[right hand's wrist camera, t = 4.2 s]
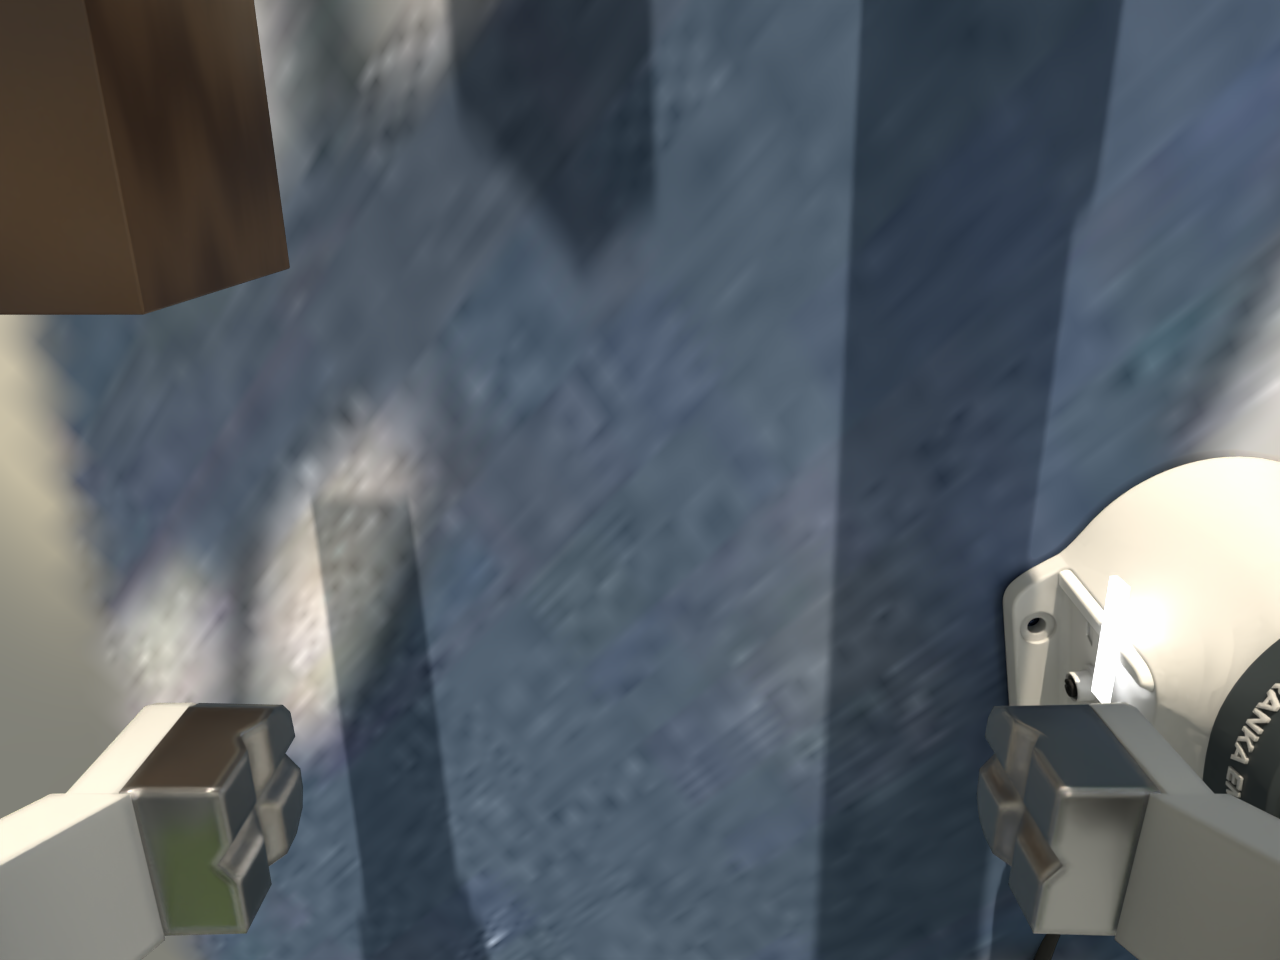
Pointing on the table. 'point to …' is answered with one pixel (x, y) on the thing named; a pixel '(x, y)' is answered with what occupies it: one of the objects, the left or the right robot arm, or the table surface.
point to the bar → (133, 155)
